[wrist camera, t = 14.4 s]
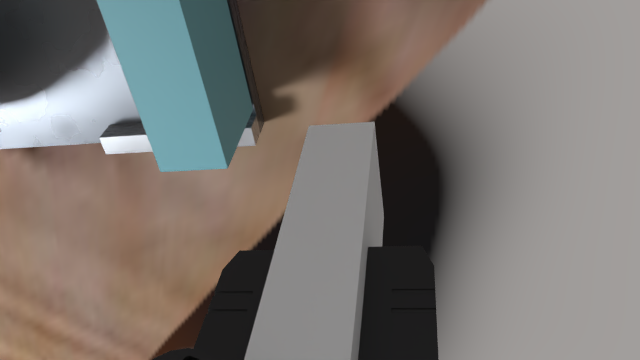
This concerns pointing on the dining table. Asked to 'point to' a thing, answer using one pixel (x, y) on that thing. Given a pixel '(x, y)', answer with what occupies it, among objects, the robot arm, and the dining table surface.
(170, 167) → the block
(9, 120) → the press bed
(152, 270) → the dining table surface
